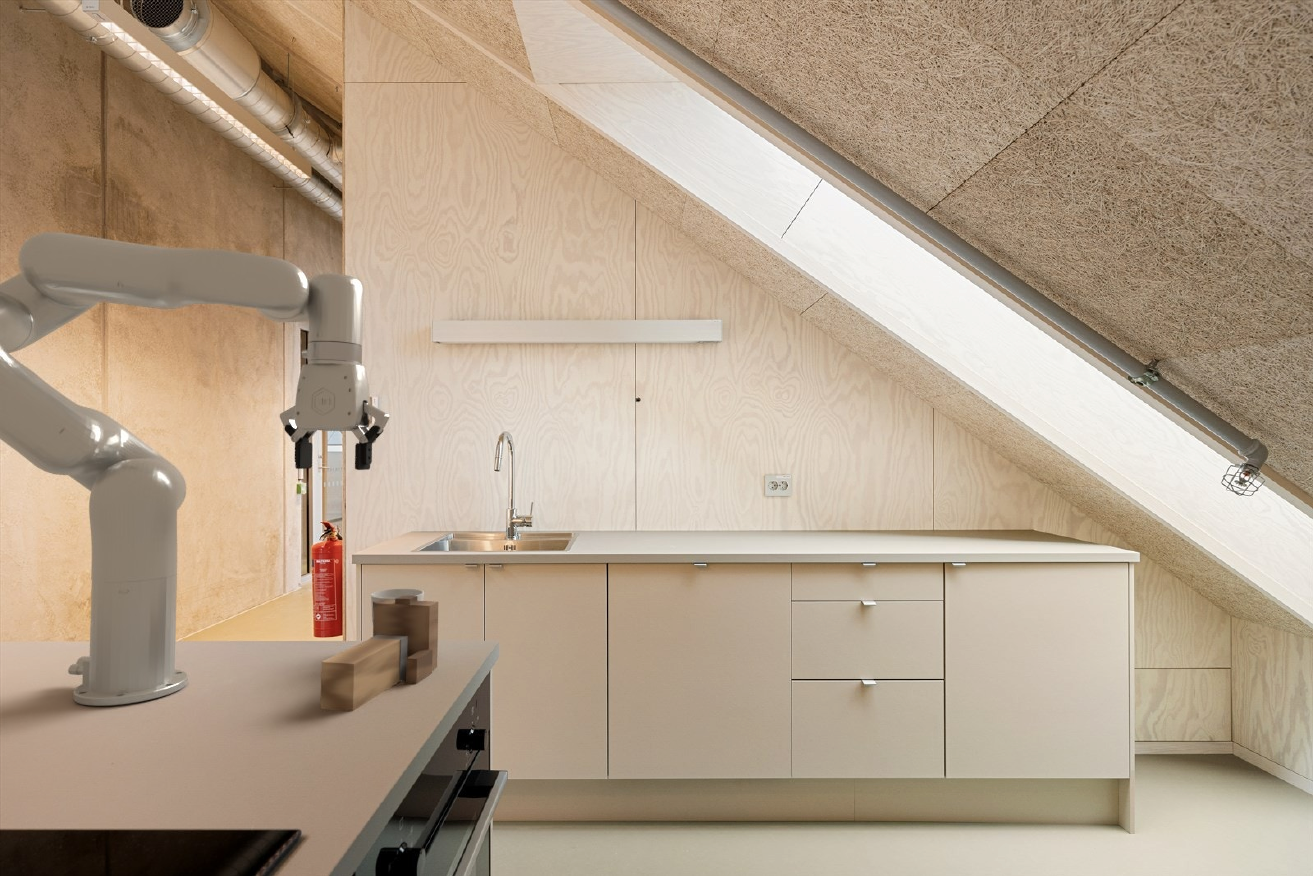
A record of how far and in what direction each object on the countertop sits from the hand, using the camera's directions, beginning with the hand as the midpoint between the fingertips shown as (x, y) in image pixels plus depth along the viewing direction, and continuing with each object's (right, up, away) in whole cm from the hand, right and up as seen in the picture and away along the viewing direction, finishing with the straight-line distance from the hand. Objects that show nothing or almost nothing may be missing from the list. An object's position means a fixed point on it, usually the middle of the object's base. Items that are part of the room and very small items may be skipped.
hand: (333, 469), depth 110 cm
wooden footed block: (+10, -30, -2) cm, 32 cm away
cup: (+7, -31, +8) cm, 32 cm away
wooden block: (+9, -30, -10) cm, 33 cm away
